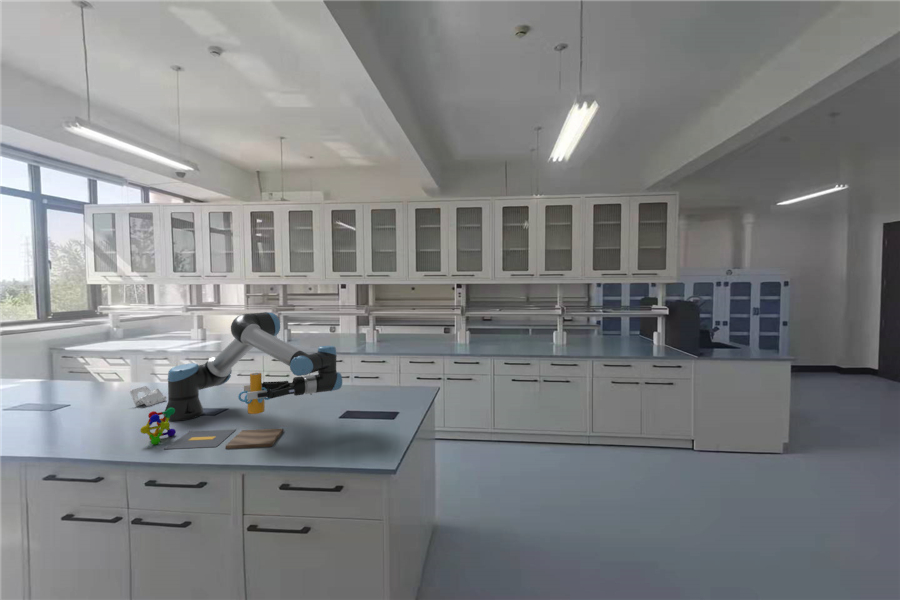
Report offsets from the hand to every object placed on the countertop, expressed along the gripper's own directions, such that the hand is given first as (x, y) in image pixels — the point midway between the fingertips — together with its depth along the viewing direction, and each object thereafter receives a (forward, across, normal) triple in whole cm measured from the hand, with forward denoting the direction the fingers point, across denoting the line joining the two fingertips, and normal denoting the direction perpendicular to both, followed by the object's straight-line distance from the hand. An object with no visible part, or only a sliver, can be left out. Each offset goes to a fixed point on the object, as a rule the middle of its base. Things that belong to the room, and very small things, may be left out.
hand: (245, 392), depth 151 cm
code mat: (+14, +12, -19) cm, 27 cm away
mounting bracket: (+36, +82, -19) cm, 92 cm away
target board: (-4, 0, -19) cm, 20 cm away
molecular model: (+28, +20, -19) cm, 39 cm away
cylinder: (-4, 0, -8) cm, 9 cm away
